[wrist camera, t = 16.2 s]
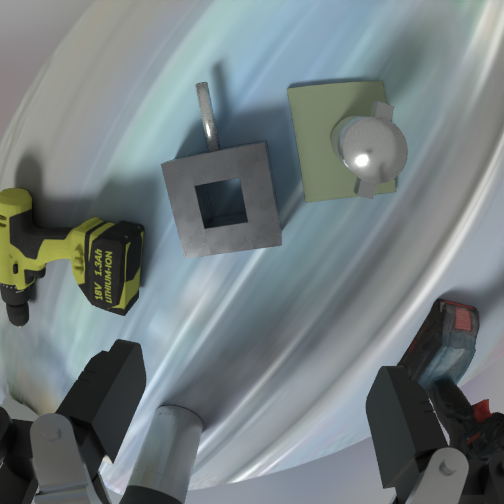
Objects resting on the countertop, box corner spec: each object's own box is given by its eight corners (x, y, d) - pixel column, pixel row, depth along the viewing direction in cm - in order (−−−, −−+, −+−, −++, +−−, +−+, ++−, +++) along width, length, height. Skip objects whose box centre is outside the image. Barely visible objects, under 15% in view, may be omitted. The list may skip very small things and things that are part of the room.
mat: (394, 190, 31) (395, 191, 30) (305, 201, 32) (305, 202, 32) (380, 81, 26) (382, 80, 26) (286, 89, 28) (287, 88, 27)
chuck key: (371, 111, 27) (416, 114, 17) (358, 173, 30) (394, 205, 20) (328, 99, 27) (355, 94, 17) (316, 164, 30) (334, 190, 20)
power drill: (495, 274, 33) (597, 393, 11) (422, 391, 43) (461, 515, 20) (454, 259, 33) (570, 399, 10) (380, 387, 43) (411, 528, 20)
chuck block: (281, 231, 34) (281, 245, 30) (195, 243, 36) (185, 258, 32) (253, 75, 28) (250, 69, 24) (161, 97, 29) (146, 95, 25)
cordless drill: (133, 367, 45) (18, 309, 44) (154, 224, 36) (14, 177, 35) (116, 397, 38) (-4, 329, 38) (129, 245, 29) (-18, 187, 28)
